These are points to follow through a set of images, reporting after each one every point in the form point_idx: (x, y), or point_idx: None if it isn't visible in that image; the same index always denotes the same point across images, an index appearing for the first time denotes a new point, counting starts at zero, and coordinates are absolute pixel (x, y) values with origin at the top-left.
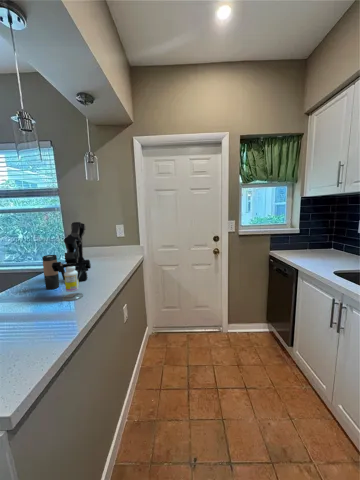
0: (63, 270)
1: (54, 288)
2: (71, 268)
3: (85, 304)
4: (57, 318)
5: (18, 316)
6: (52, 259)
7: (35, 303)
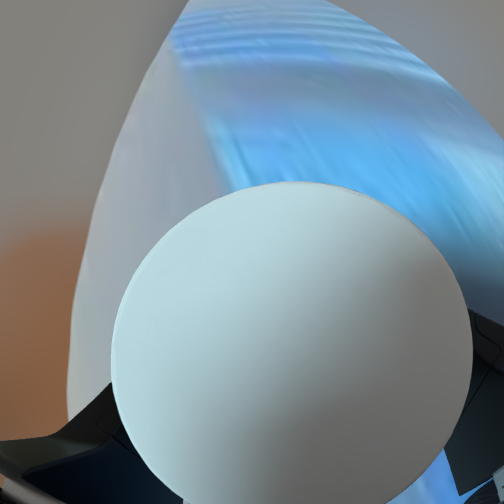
0: (484, 366)
1: (473, 497)
2: (199, 216)
3: (170, 195)
4: (261, 73)
5: (447, 114)
6: None
7: (489, 255)
